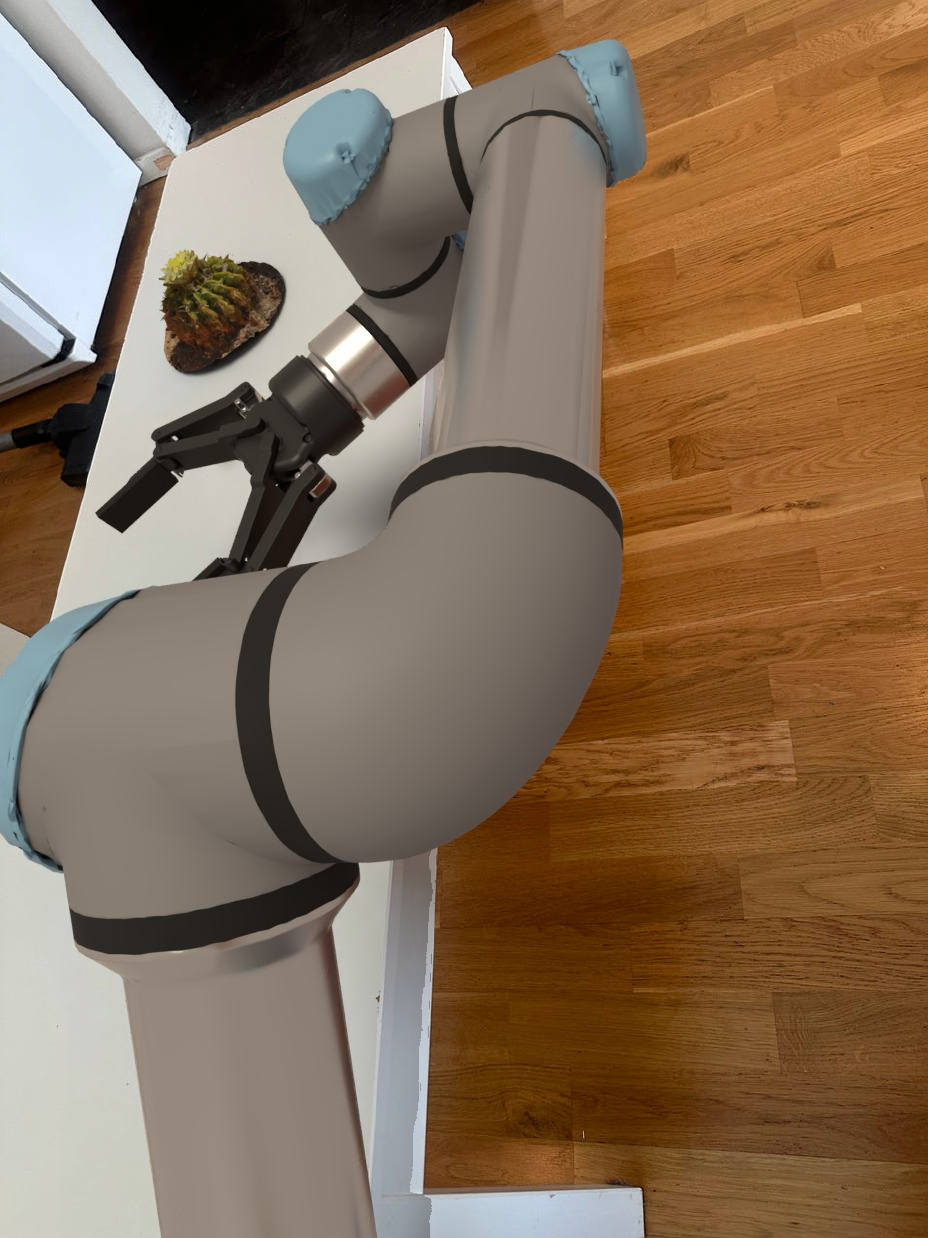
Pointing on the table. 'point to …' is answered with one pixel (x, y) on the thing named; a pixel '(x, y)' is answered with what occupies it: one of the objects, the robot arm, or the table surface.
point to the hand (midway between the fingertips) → (135, 572)
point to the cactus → (214, 306)
